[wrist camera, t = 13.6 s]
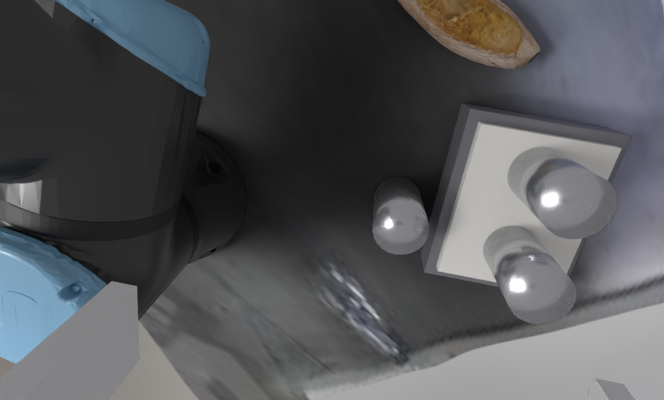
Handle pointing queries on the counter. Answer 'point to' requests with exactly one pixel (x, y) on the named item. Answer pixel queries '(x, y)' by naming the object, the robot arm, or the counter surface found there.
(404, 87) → the counter surface
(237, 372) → the counter surface
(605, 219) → the cylinder
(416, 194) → the cylinder
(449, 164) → the scale
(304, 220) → the counter surface
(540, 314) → the cylinder
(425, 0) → the filled bread boat
